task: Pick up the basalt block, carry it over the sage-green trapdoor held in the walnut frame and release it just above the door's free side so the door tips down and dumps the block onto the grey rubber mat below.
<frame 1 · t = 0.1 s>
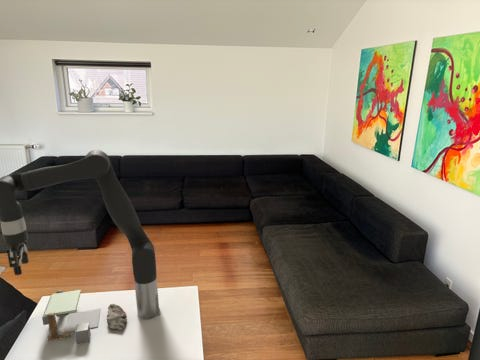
hand: (22, 268, 132), 29 cm above the table, fingers open, 8 cm apart
mineral rock: (117, 321, 147), on the table
mat: (82, 320, 147), on the table
frame: (59, 325, 144), on the table
trapdoor: (63, 306, 142), point 9 cm above the table, hinge at 0.0°
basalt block: (84, 339, 137), on the table
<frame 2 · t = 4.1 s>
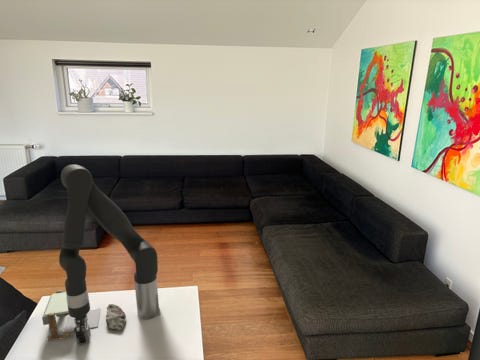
hand: (83, 338, 136), 1 cm above the table, fingers closed on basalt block, 4 cm apart
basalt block: (83, 339, 137), on the table, touching gripper
everything else where it was.
when the fingers open (13 cm above the table, at t = 8.9 s): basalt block drops 3 cm, resting on trapdoor.
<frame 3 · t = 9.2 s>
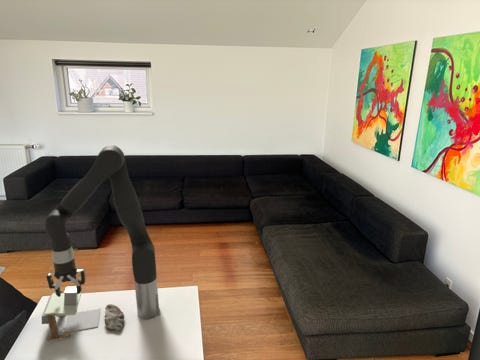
hand: (69, 294, 142), 14 cm above the table, fingers open, 6 cm apart
trapdoor: (62, 307, 142), point 8 cm above the table, hinge at -9.5°, touching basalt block
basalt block: (70, 302, 143), point 10 cm above the table, tilted 9°, touching trapdoor
everything else where it was.
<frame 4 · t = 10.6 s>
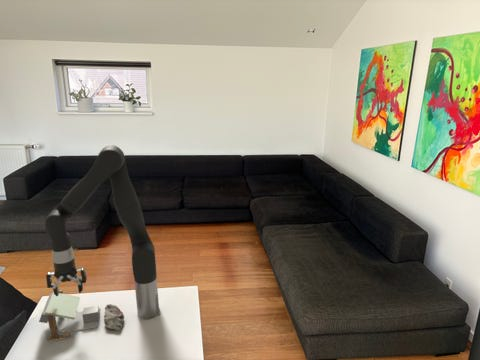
hand: (69, 293, 142), 14 cm above the table, fingers open, 8 cm apart
trapdoor: (60, 308, 142), point 8 cm above the table, hinge at -24.2°
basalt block: (83, 315, 146), point 3 cm above the table, tilted 90°, touching mat
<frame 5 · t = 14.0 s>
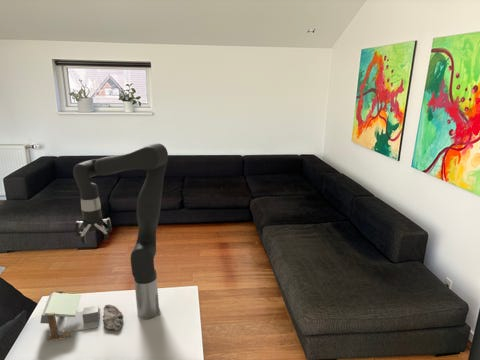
hand: (95, 242, 151), 30 cm above the table, fingers open, 8 cm apart
trapdoor: (61, 308, 142), point 8 cm above the table, hinge at -16.3°
at the end: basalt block point 2.6 cm above the table; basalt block inside the target area (0.5 cm from its centre), point 2.6 cm above the table; the gripper is holding nothing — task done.
